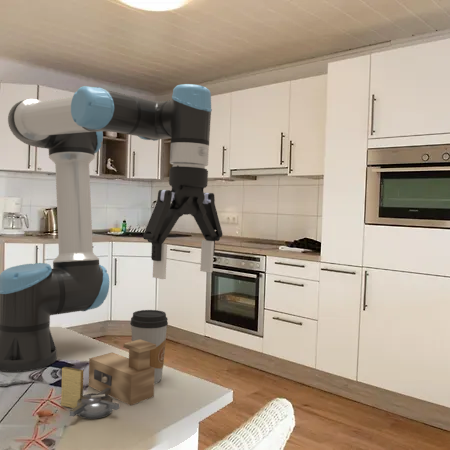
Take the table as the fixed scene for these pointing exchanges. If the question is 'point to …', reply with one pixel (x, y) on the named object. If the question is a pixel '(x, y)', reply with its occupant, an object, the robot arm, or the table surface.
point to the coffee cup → (151, 335)
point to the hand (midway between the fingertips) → (184, 274)
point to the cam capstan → (84, 397)
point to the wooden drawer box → (125, 373)
